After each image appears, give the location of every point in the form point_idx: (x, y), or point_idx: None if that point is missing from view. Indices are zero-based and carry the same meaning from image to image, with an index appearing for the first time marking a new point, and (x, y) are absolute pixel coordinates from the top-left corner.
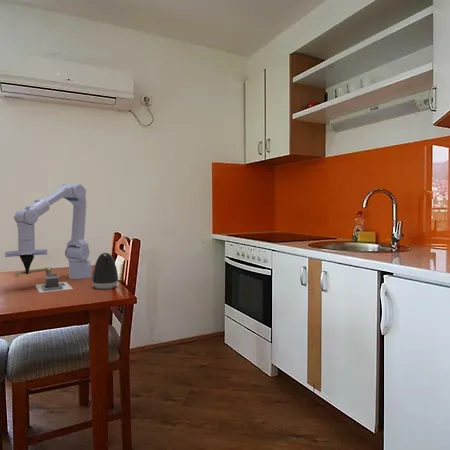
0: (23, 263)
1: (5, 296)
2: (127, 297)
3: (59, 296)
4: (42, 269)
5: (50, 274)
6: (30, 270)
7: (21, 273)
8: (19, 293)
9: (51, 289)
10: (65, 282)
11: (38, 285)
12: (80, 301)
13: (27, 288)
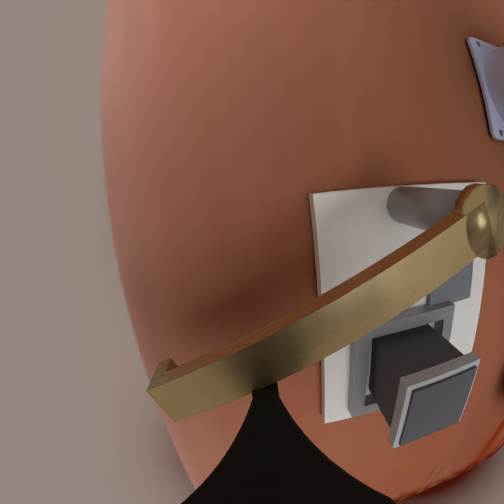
0: (225, 473)
1: None
2: (500, 443)
3: None
4: (436, 286)
5: (440, 391)
6: (308, 333)
7: (212, 399)
8: None
9: None
10: None
11: (336, 233)
12: (413, 480)
13: (255, 216)
